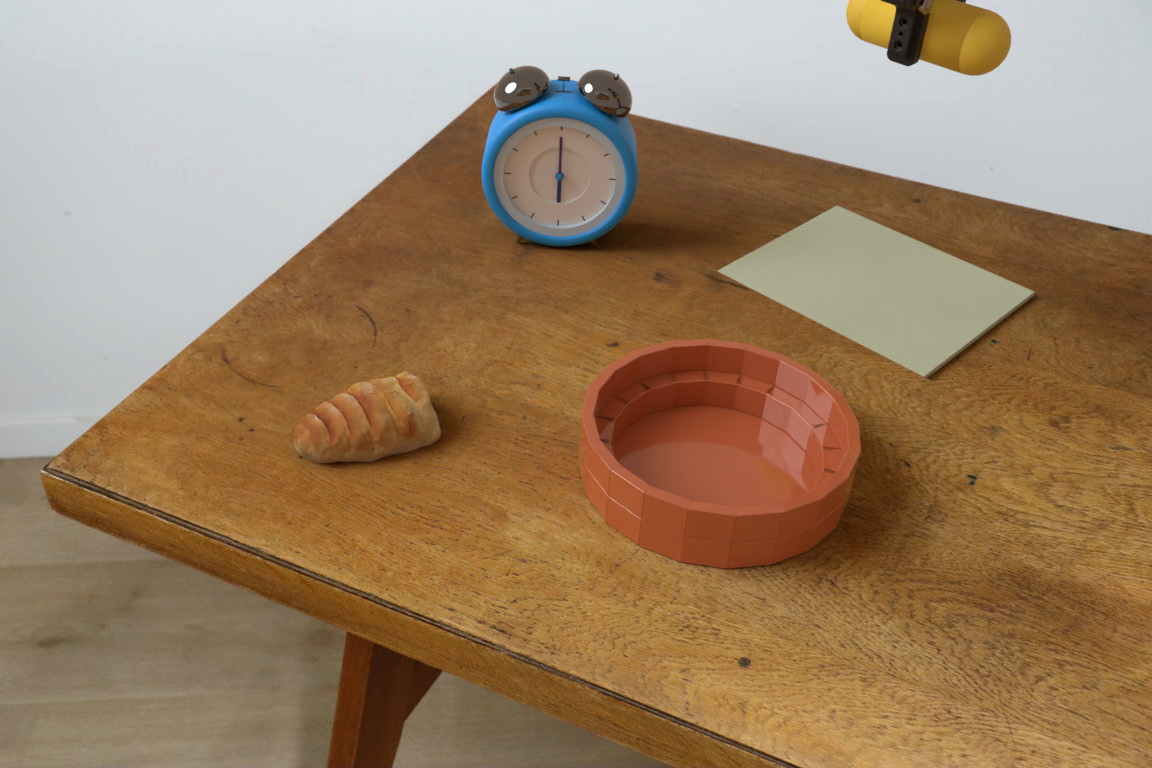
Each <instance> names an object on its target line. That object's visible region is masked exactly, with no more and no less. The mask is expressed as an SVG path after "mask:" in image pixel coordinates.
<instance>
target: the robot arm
mask: <svg viewBox="0 0 1152 768" xmlns="http://www.w3.org/2000/svg"><path fill="white" fill-rule="evenodd" d="M881 1H883V2H886V3H889V4H892V5H894V6H895V7H896V13H895V17H894V22H893V27H892V31H891V36H890V40H889V45H888V49H886V57H887V59H888V60H889V61H891V62H893V63H896V64H899V65H902V66H905V67H911V66H913V65H916V64H917V63H919V61H920V60H919V58H920V54H921V50H922V45H923V40H924V36H925V33H926V28H927V24H928V20H929V16H930V13H928V12H929V11H930V9H931V7H932V4H933V2H934V0H881ZM956 1H960V2H963V3H966V2H967V0H956Z"/></svg>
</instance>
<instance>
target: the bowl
mask: <svg viewBox="0 0 1152 768" xmlns="http://www.w3.org/2000/svg"><path fill="white" fill-rule="evenodd" d="M581 409H582V410H581V414H580V428H579V429H580V430H579V446H578V463H577V465H578V470H579V474H580V478H581V482H582V488H583V491H584V494H585V495H586V497H587V499H588V500H589V501H590V502H591V504H592V505H593V507H594V508H595V509H596V511H597V512H598V513H599V515H600V516H601V517H602V518H603V520H604V521H605V522H606V523H607V525H609V526H611V527H612V528H613V529H615V530H616V531H618V532H619V533H621V534H622V535H624V537H626V538H628V539H629V540H630V541H631V542H633V543H634V544H636V545H637V546H639V547H641V548H644V549H646V550H649V551H652V552H654V553H656V554H659V555H662V556H664V557H666V558H669V559H671V560H675V561H677V562H680V563H684V564H685V563H686V564H691V565H698V566H704V567H711V568H717V569H718V568H719V569H726V570H727V569H738V568H740V569H741V568H750V567H760V566H771V565H775V564H778V563H780V562H783V561H785V560H788V559H791V558H793V557H796V556H799V555H802V554H805V553H807V552H809V551H811V550H812V549H813V548H815V546H817V545H818V544H819V543H820V542H821V541H823V540H824V539H825V538H827V536H829V535H830V534H832V532H833V531H834V530H836V528H837V527H838V524H839V522H840V520H841V518H842V515H843V514H844V511H845V509H846V507H847V505H848V502H849V500H850V499H849V498H850V495H851V491H852V487H853V483H854V479H855V476H856V471H857V469H858V465H859V461H860V457H861V452H862V445H861V432H860V423H859V421H858V419H857V417H856V416H855V413H854V412H853V410H852V409H851V407H850V404H849V403H848V402H847V400H846V398H845V396H844V395H843V394H842V393H841V392H840V391H838V390H837V389H836V388H835V387H834V386H833V385H832V384H831V383H829V382H828V381H827V379H826V378H824V377H823V376H822V375H821V374H820V373H818V372H816V371H814V370H813V369H811V368H809V367H808V366H805V365H803V364H802V363H800V362H798V361H796V360H794V359H793V358H791V357H788V356H787V355H785V354H783V353H779V352H775V351H773V350H769V349H767V348H763V347H759V346H757V345H754V344H750V343H746V342H738V341H731V340H723V339H714V338H696V339H693V338H692V339H678V340H668V341H663V342H660V343H656V344H652V345H649V346H644V347H642V348H637V349H633V350H632V351H630V352H628V353H626V354H625V355H622V356H621V357H619V358H618V359H616V360H614V361H612V362H611V363H609V364H607V365H606V366H605V367H604V368H603V369H602V371H601V372H600V373H599V374H598V375H597V377H595V379H594V380H593V381H592V383H590V385H589V386H588V387H587V389H586V393H585V397H584V401H583V405H582V408H581Z"/></svg>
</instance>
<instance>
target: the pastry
mask: <svg viewBox="0 0 1152 768" xmlns="http://www.w3.org/2000/svg"><path fill="white" fill-rule="evenodd" d="M441 435H442V431H441V426H440V422H439V419H438V416H437V412H436V411H435V409H434V407H433V404H432V401H431V397H430V394H429V392H428V390H427V388H426V387H425V384H424V383H423V381H422V380H421V378H420V377H419V376H418V375H415V374H414V373H412V372H410V371H408V370H404V371H402V372H400V373H398V374H396V375H395V376H387V377H384V378H373V379H370V380H368V381H367V380H366V381H359V382H356V383H353V384H351V385H350V387H348V389H345V390H344V391H343V392H339V393H338V394H337V395H335V396H334V397H333V398H331V400H326V401H324V402H322V403H320V404H319V405H318V406H317V407H315V408H313V409H311V410H310V411H309V412H308V413H307V414H306V415H304V416H303V417H301V418H300V419H299V420H298V423H297V425H296V427H295V430H294V435H293V440H294V441H293V444H294V448H295V450H296V452H297V453H298V454H299V455H300V456H302V457H303V458H305V459H307V460H308V461H310V462H313V463H317V464H333V463H337V462H338V463H339V462H340V463H353V462H359V463H360V462H361V463H362V462H363V463H365V462H367V463H369V462H374V461H377V460H381V459H383V458H387V457H389V456H393V455H398V454H405V453H409V452H412V451H415V450H417V449H420V448H423V447H427V446H432V445H433V444H435V443H436V442H438V440H439V439H440V437H441Z"/></svg>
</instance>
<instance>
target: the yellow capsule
mask: <svg viewBox="0 0 1152 768" xmlns="http://www.w3.org/2000/svg"><path fill="white" fill-rule="evenodd" d="M895 13H896V7H895V6H894V5H892V4H889V3H886V2H883V1H881V0H848V3H847V6H846V11H845V15H846V22H847V25H848V27H849V29H850V31H851V32H852V34H853V35H854V36H855V37H856V38H857V39H859V40H860V41H863V42H864V43H868V44H871V45H873V46H877V47H881V48H883V49H886V50H888V45H889V40H890V36H891V31H892V27H893V22H894V17H895ZM928 13H930V16H929V20H928V24H927V28H926V33H925V36H924V40H923V45H922V50H921V54H920V58H919V61H923V62H926V63H929V64H932V65H935V66H937V67H941V68H943V69H947V70H950V71H953V72H956V73H959V74H961V75H965V76H971V77H973V76H974V77H975V76H977V77H978V76H982V75H983V76H984V75H987V74H988V73H990V72H992V71H994V70H995V69H997V68H999V67H1000V66H1001V64H1002V63H1003V62H1004V61H1005V60H1006V58H1007V57H1008V55H1009V52H1010V50H1011V46H1012V34H1011V29H1010V26H1009V24H1008V22H1007V21H1006V19H1004V18H1003V16H1001V15H1000V14H999V13H997V12H995V11H993V10H990V9H987V8H983V7H981V6H977V5H972V4H970V3H968V2H967V3H963V2H960V1H956V0H934V2H933V4H932V7H931V9H930V11H929V12H928Z"/></svg>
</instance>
